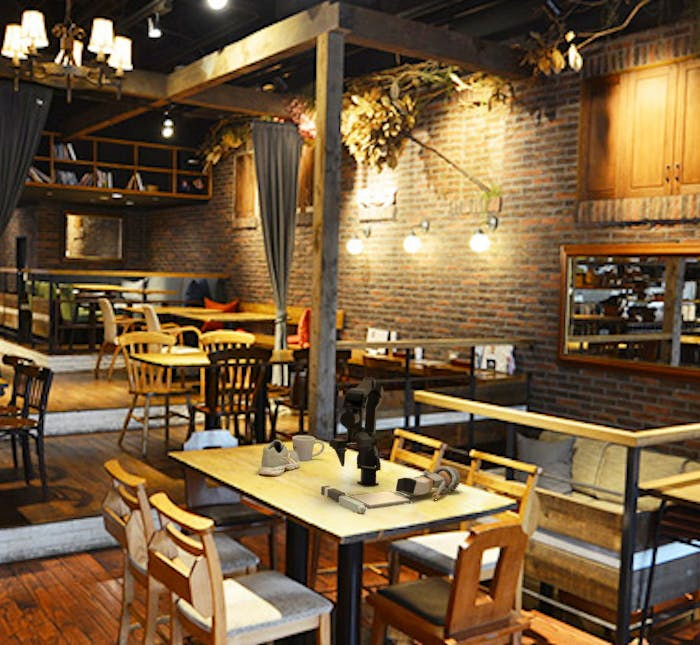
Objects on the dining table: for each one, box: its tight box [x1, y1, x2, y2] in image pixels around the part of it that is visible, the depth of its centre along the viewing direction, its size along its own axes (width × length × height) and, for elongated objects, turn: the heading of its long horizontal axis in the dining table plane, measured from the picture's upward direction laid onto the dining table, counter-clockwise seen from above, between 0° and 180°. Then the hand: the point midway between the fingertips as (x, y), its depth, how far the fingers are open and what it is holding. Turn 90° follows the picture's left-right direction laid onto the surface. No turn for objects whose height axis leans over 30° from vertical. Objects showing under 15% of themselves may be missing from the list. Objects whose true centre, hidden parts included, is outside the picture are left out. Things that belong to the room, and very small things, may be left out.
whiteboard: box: [348, 490, 415, 510], centre depth 302 cm, size 20×15×2 cm
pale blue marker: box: [338, 495, 367, 514], centre depth 289 cm, size 14×3×3 cm, turn 33°
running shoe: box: [258, 439, 301, 477], centre depth 344 cm, size 11×30×14 cm, turn 164°
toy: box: [395, 465, 461, 500], centre depth 313 cm, size 14×11×30 cm
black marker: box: [320, 485, 347, 503], centre depth 302 cm, size 14×3×3 cm, turn 34°
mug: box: [291, 434, 325, 462], centre depth 366 cm, size 10×15×10 cm
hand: (352, 465), depth 302 cm, fingers open, 9 cm apart
